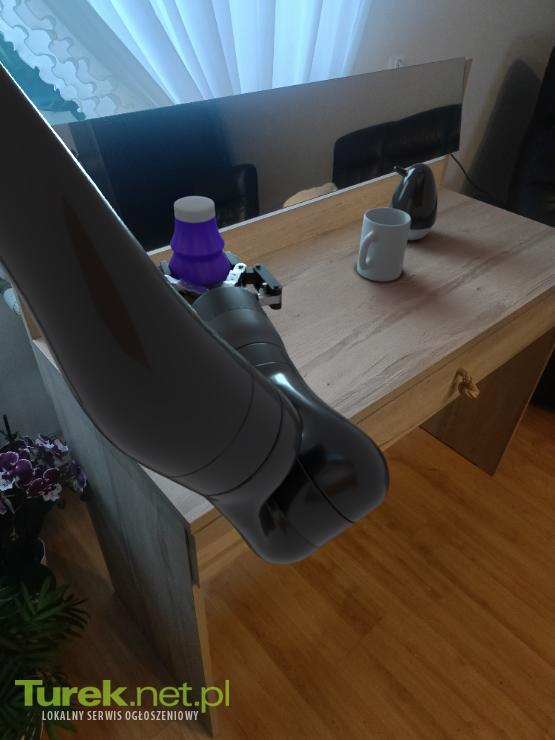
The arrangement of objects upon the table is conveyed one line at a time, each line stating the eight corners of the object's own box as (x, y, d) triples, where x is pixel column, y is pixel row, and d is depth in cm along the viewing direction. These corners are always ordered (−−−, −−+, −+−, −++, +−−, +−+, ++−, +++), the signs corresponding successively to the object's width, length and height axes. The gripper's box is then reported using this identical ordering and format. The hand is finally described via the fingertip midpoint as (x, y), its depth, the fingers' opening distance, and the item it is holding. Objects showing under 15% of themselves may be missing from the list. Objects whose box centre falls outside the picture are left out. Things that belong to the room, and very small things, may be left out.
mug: (371, 256, 100) (378, 203, 93) (408, 269, 96) (420, 215, 89) (338, 278, 93) (344, 223, 86) (377, 294, 89) (387, 237, 82)
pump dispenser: (384, 223, 113) (395, 154, 103) (430, 227, 112) (446, 157, 102) (382, 242, 105) (394, 169, 96) (432, 247, 104) (449, 174, 94)
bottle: (244, 341, 61) (239, 202, 50) (213, 364, 57) (200, 219, 46) (200, 321, 64) (187, 186, 53) (168, 342, 60) (147, 201, 49)
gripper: (313, 296, 44) (254, 223, 56) (149, 326, 40) (124, 241, 52) (308, 362, 49) (255, 282, 61) (162, 394, 45) (136, 302, 57)
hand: (195, 263), depth 56 cm, fingers closed on bottle, 6 cm apart
